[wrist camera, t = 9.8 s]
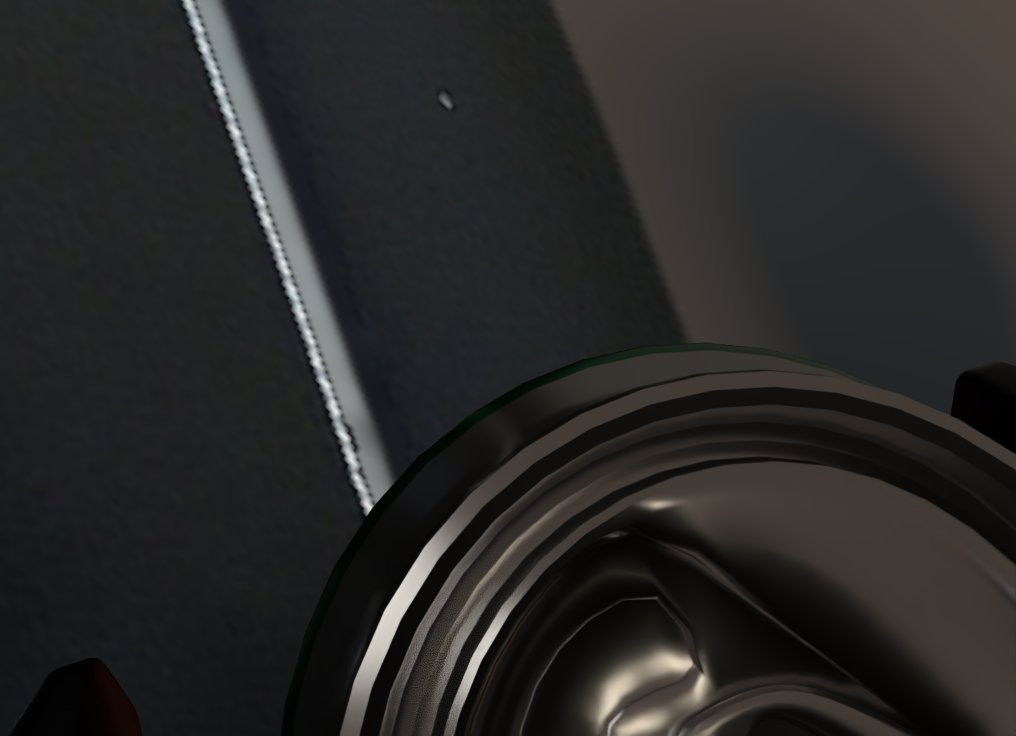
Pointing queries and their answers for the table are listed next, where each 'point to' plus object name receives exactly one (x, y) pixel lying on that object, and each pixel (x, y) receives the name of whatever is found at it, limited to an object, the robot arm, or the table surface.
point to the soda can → (678, 564)
